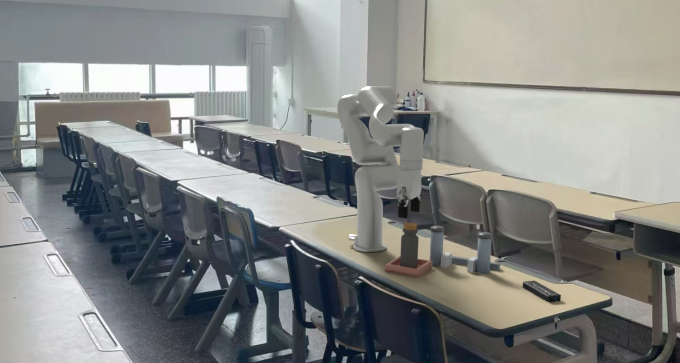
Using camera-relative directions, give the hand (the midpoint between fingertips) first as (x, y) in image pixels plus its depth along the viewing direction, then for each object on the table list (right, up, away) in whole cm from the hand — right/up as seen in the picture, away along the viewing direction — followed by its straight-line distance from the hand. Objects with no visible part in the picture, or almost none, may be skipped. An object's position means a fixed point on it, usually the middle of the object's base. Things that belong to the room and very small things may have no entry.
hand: (408, 214), depth 229 cm
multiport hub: (+38, -24, -21) cm, 50 cm away
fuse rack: (+19, -18, +7) cm, 27 cm away
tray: (0, -19, +3) cm, 19 cm away
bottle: (0, -18, +3) cm, 18 cm away
